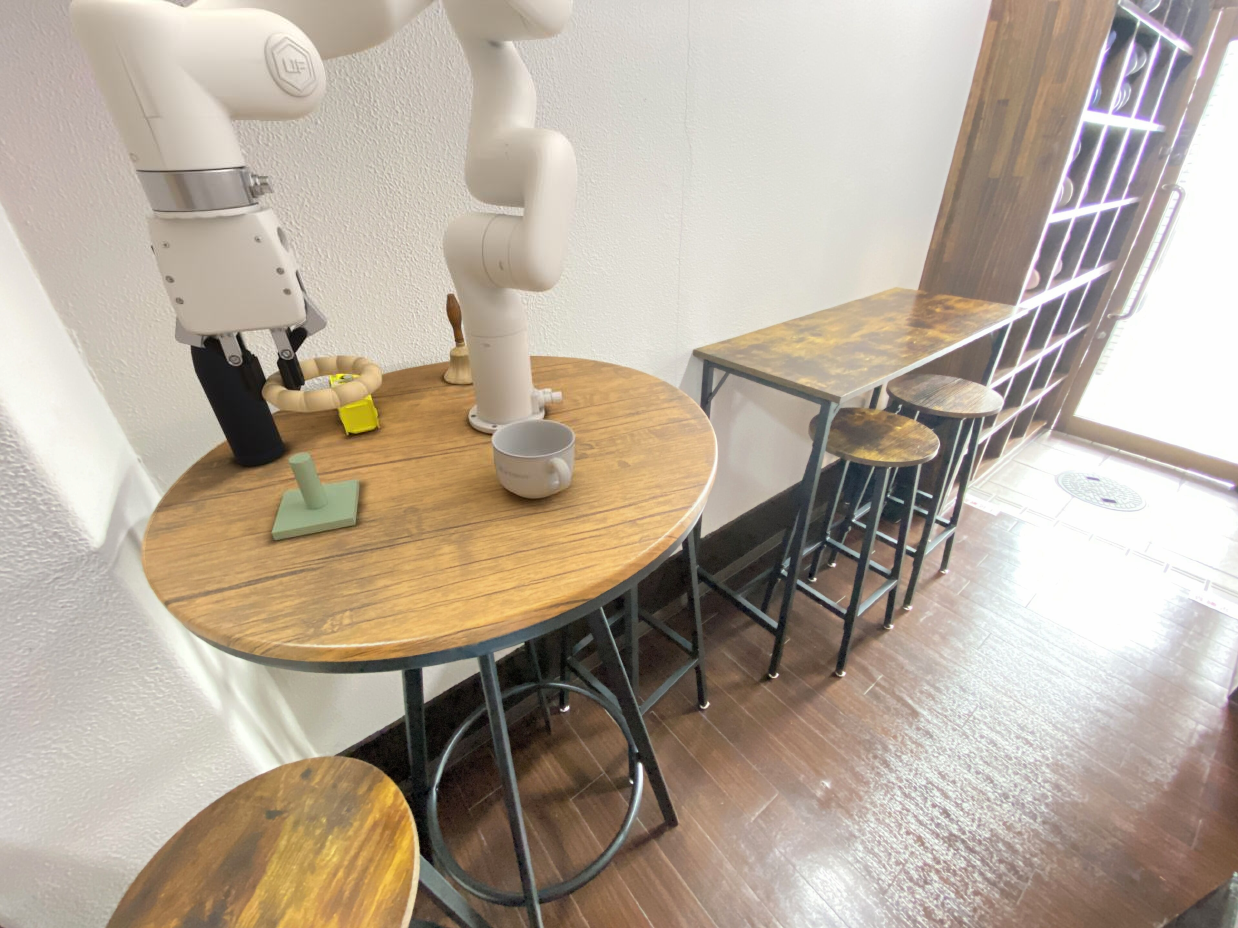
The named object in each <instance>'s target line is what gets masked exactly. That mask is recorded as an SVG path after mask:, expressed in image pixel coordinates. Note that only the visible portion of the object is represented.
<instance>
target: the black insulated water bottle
mask: <svg viewBox="0 0 1238 928" xmlns="http://www.w3.org/2000/svg"><path fill="white" fill-rule="evenodd" d="M150 248H151V250H152V253H153V255H154V256H155V254H154V250H153V247H152V244H151V245H150ZM190 355H191V361H192V366H193V369H194V373H195V375H196V377H197V379H198V381H199V383H200V385H201V388H202V390H203V392H204V394H205V396H206V398H207V400H208V403H209V405H210V407H211V409H212V411H213V413H214V415H215V418H216V420H217V422H218V424H219V426H220V429H221V430H222V432H223V435H224V437H225V439H226V441H227V443H228V445H229V447H230V450H231V452H232V454H233V457H234V458H235V460H236V463H238V465H240V466H243V467H258V466H262V465H266V464H269V463H271V462H274V461H276V460H278V459H279V458H281V457H282V456H283V455H284V454H285V452H286V446H285V444H284V441H283V439H282V436H281V434H280V431H279V428H278V426H277V423H276V422H275V419H274V416H273V413H272V411H271V409H270V406H269V404H268V401H266V400H265V401H264V402H262V403H257V402H256V400H255V398H254V395H253V393H252V392H251V393H248V392H247V391H246V389H245V387H244V385H243V382H242V380H241V377H240V375H239V373H238V370H237V368H236V366H233V365H231V364H230V363H229V362H228V361H227V359H225V358H223V357H221V356H219V355H217V354H215V353H213V352H211V351H210V350H208V349H206V348H204V347H196V346H192V345H190Z"/></svg>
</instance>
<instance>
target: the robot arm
mask: <svg viewBox="0 0 1238 928" xmlns="http://www.w3.org/2000/svg"><path fill="white" fill-rule="evenodd" d="M435 1H437V0H195V1H194V2H192V3H190V4H188V5H187V6H186V7H185V6H180V5H178V4H176V3H174V2H170V1H167V0H71V2H70V4H69V8H68V16H69V21H70V23H71V26H72V28H73V31H74V34H75V36H76V39H77V41H78V43H79V45H80V48H81V50H82V53H83V55H84V57H85V59H86V61H87V64H88V66H89V68H90V70H91V73H92V75H93V78H94V80H95V83H96V84H97V86H98V89H99V91H100V93H101V95H102V97H103V100H104V102H105V105H106V107H107V109H108V112H109V113H110V116H111V118H112V121H113V122H114V125H115V127H116V129H117V132H118V134H119V136H120V139H121V141H122V143H123V145H124V148H125V150H126V153H127V155H128V157H129V159H130V161H131V164H132V166H133V169H134V170H135V173H136V177H137V178H138V181H139V183H140V185H141V187H142V189H143V192H144V194H145V196H146V199H147V201H148V203H149V205H150V208H151V210H152V212H151V213H149V214H147V215H146V216H145V219H146V224H147V229H148V230H147V231H148V234H149V238H150V243H151V245H152V247H153V250H154V253H153V255H154V254H155V255H154V257H155V261H156V264H157V268H158V271H159V274H160V277H161V280H162V282H163V285H164V288H165V290H166V293H167V296H168V298H169V301H170V304H171V306H172V309H173V311H174V313H175V315H176V316H175V318H176V319H175V331H174V338H175V340H176V341H177V342H178V343H180V344H184V345H188V346H191V345H192V346H196V347H204V348H206V349H208V350H210V351H211V352H213V353H215V354H217V355H219V356H221V357H223V358H225V359H227V361H228V362H229V363H230V364H231V365H233V366H236V368H237V370H238V373H239V375H240V377H241V380H242V382H243V385H244V387H245V389H246V391H247V392H248V393H251V392H252V393H253V395H254V398H255V400H256V402H257V403H262V402H264V401H265V399H264V398H263V396H262V389H263V387H264V385H265V382H266V380H267V378H266V375H265V373H264V370H263V368H262V367H263V366H262V365H261V363H260V360H259V358H258V356H257V355H256V354H255V353H252V351H251V350H249V348H248V346H247V342H246V339H245V336H244V333H243V332H253V331H262V330H264V331H265V330H269V333H270V335H271V338H272V339H273V340H272V341H273V342H274V345H275V347H276V350H277V353H276V354H277V357H278V358H277V360H276V366H277V369H278V371H279V372H280V374H281V377H282V380H283V382H284V385H285V388H286V389H288V390H295V391H302V387H303V386H305V384H306V381H305V379H304V375H303V373H302V370H301V367H300V364H299V362H300V361H299V359H298V355H297V352H298V351H299V349H300V348H301V346H302V345H303V344H304V342H305V341H306V340H307V339H308V338H309V337H311V336H313V335H315V334H317V333H318V332H320V331H323V329H325V328H326V327H327V324H328V318H327V317H326V315H325V314H324V313H323V312H322V311H321V310H320V308H319V307H318V306H317V305H316V304H315V303H314V301H313V300H312V299H311V298H310V295H309V292H308V289H307V286H306V283H305V280H304V278H303V275H302V271H301V270H300V267H299V265H298V262H297V260H296V257H295V254H294V253H293V252H294V251H293V250H292V247H291V245H290V243H289V240H288V238H287V236H286V234H285V232H284V229H283V227H282V226H281V223H280V221H279V219H278V217H277V216H276V214H275V212H274V210H273V209H272V207H271V206H267V205H266V206H261V205H260V201H261V199H260V198H261V197H262V196H265V194H274V193H275V192H274V186H273V183H272V180H271V178H270V176H269V175H259V174H257V173H256V174H255V173H254V172H253V171H251V169H250V167H249V166H246V165H247V164H246V160H245V158H244V155H243V152H242V149H241V146H240V142H239V140H238V137H237V133H236V130H235V128H234V125H233V122H232V121H260V122H285V121H286V122H287V121H295V120H299V119H301V118H305V117H307V116H308V115H310V114H312V113H313V112H314V111H315V110H317V109H318V107H319V106H320V105H321V103H322V101H323V99H324V96H325V94H326V89H327V75H326V70H325V69H326V68H325V66H324V63H323V61H328V60H331V59H336V58H340V57H346V56H350V55H356V54H357V53H358V54H359V53H362V52H365V51H367V50H369V49H372V48H375V47H377V46H381V45H382V44H384V43H386V42H388V41H389V40H391V38H393V37H394V36H395V35H396V34H397V33H399V32H400V31H401V30H403V28H405V27H406V26H407V25H408V24H410V23H411V22H412V21H413V20H414V19H415V18H416V17H418V16H419V15H420V14H421V13H423V11H425V10H426V9H427V8H429V7H430V6H431V5H432V4H433V3H434V2H435ZM442 3H443V8H444V10H445V15H446V16H447V19H448V22H449V23H450V26H451V27H452V29H453V32H454V33H455V36H456V37H457V39H458V42H459V44H460V46H461V48H462V50H463V53H464V56H465V58H466V61H467V64H468V67H469V70H470V73H471V78H472V98H471V99H472V100H471V110H470V116H469V117H470V118H469V126H468V134H467V142H466V150H465V160H464V181H465V186H466V188H467V190H468V192H469V193H470V195H471V196H472V197H473V198H474V199H475V200H477V201H479V202H481V203H483V204H487V205H491V206H496V207H507V208H520V209H523V214H522V215H513V214H506V213H495V212H483V211H477V212H472V211H471V212H467V213H462V214H459V215H458V216H456V217H454V218H453V219H452V220H451V221H450V222H449V223H448V225H447V226H446V228H445V231H444V233H443V238H442V250H443V251H442V252H443V257H444V260H445V264H446V266H447V270H448V272H449V275H450V277H451V280H452V283H453V286H454V288H455V293H456V296H457V301H458V303H459V305H460V309H461V314H462V325H463V332H464V338H465V339H464V340H465V345H466V346H467V351H468V357H469V363H470V369H471V376H472V382H473V383H472V386H473V393H474V399H475V405H474V406H472V407H471V409H470V410H469V412H468V417H467V418H468V421H469V424H470V426H471V427H472V428H474V429H475V430H477V431H479V432H482V433H486V434H491V435H493V434H494V433H495V431H496V430H498V429H499V428H501V427H502V426H504V425H506V424H509V423H513V422H516V421H521V420H531V419H545V415H546V413H545V406H546V405H555V404H563V401H564V399H563V394H562V391H552V388H551V387H547V388H543V389H538V388H535V386H534V384H533V374H532V373H533V372H532V363H531V355H530V354H531V353H530V344H529V333H528V323H527V322H528V321H527V314H526V309H525V306H524V303H523V301H522V298H521V296H520V294H519V292H518V291H525V292H533V293H542V292H547V291H549V290H551V289H553V288H554V287H555V286H556V285H557V284H558V283H559V281H560V279H561V277H562V275H563V272H564V268H565V264H566V259H567V254H568V248H569V242H570V235H571V229H572V223H573V218H574V212H575V205H576V199H577V193H578V183H579V182H578V181H579V173H578V172H579V171H578V163H577V157H576V153H575V151H574V149H573V146H572V144H571V142H570V141H569V139H568V138H567V137H565V135H564V134H562V133H561V132H559V131H557V130H555V129H551V128H547V127H546V128H545V127H535V125H536V115H537V108H538V95H537V91H536V87H535V83H534V80H533V78H532V75H531V73H530V72H529V69H528V68H527V66H526V65H525V63H524V61H523V59H522V58H521V56H520V54H519V53H518V50H517V49H516V47H515V45H514V43H513V42H520V41H534V40H547V39H551V38H555V37H557V36H559V35H560V34H561V33H563V32H564V30H565V29H566V27H567V26H568V25H569V23H570V21H571V17H572V14H573V7H574V0H442ZM153 250H152V251H153ZM293 326H294V328H293V329H292V327H293Z"/></svg>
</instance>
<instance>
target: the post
mask: <svg viewBox="0 0 1238 928" xmlns="http://www.w3.org/2000/svg"><path fill="white" fill-rule="evenodd" d="M288 464H289V466H290V468H291V471H292V474H293V476H294V478H295V481H296V484H297V486H298V488H296V489H290V490H289V489H288V490H285V491H283V495H282V497H281V501H280V505H279V507H278V511H277V514H276V518H275V520H274V523H273V527H272V529H271V536H272V538H273V540H274V541H279V540H284V539H291V538H296V537H300V536H306V535H311V534H316V533H320V532H325V531H326V532H327V531H332V530H336V529H342V528H347V527H352V526H356V521H357V512H358V506H359V505H358V504H359V497H360V496H359V495H360V494H359V493H360V482H359V479H358V478H354V479H348V480H342V481H336V482H331V483H325V484H322V483H321V480H320V477H319V473H318V471H317V468H316V466H315V463H314V461H313V459H312V454H310V453H309V452H299V453H296V454H294V455H291V456H290V457H289V458H288Z"/></svg>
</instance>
